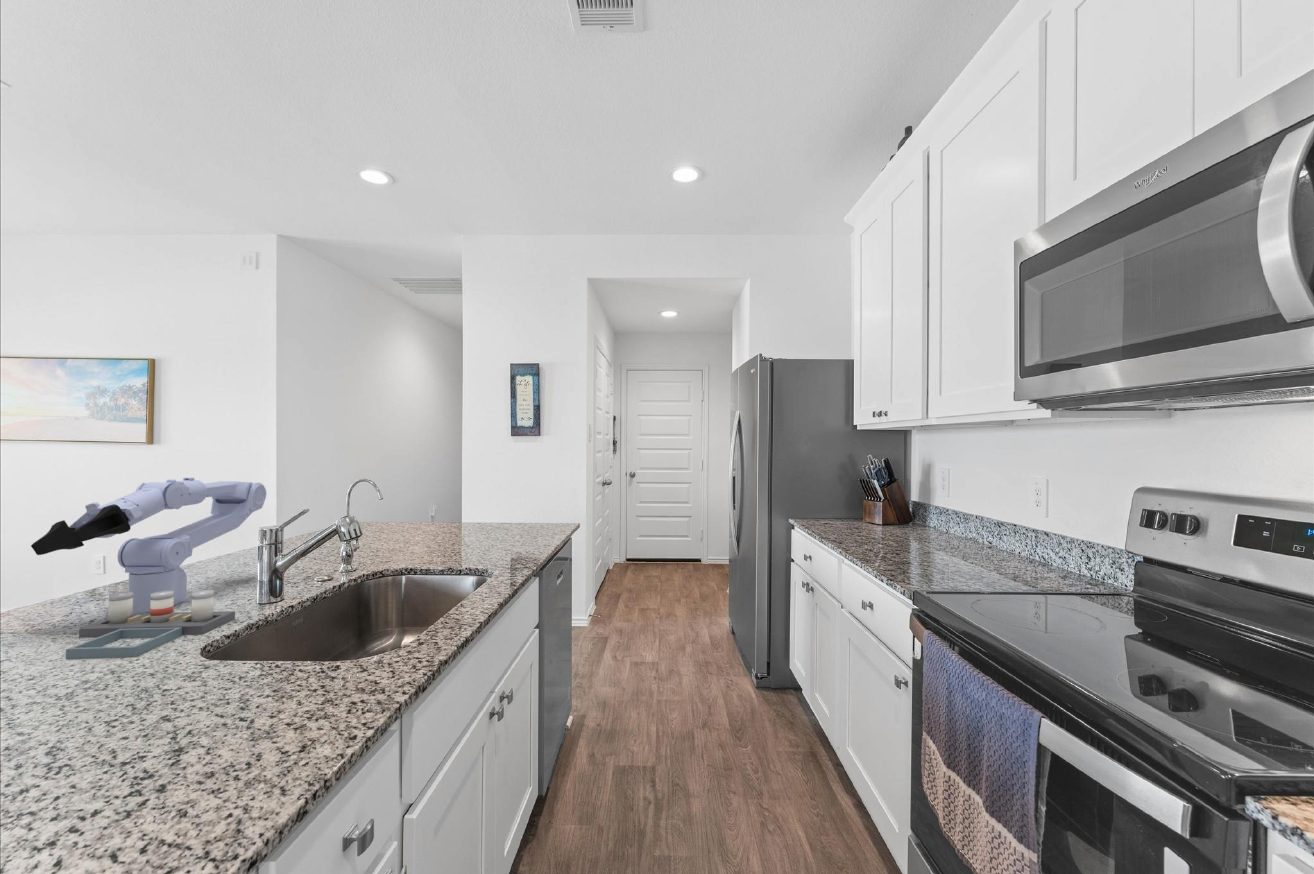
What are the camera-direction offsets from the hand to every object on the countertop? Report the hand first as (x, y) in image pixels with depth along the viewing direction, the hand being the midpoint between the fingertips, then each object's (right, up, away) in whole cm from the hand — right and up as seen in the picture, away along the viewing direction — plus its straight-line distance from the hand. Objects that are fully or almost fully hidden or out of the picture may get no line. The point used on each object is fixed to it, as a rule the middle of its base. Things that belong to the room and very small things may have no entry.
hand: (56, 543), depth 94 cm
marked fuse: (+12, -17, +7) cm, 22 cm away
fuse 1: (+5, -17, +6) cm, 19 cm away
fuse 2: (+19, -17, +8) cm, 27 cm away
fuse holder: (+12, -18, +7) cm, 23 cm away
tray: (+15, -18, -3) cm, 23 cm away
